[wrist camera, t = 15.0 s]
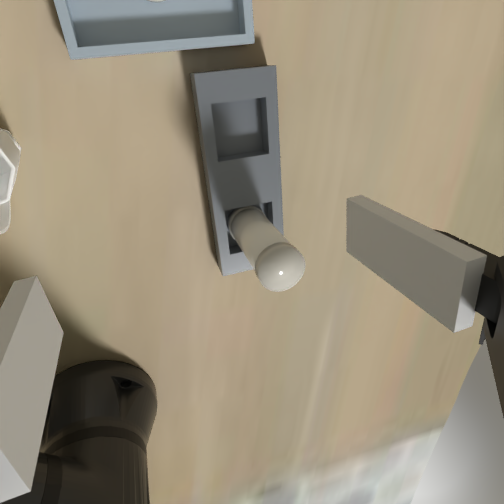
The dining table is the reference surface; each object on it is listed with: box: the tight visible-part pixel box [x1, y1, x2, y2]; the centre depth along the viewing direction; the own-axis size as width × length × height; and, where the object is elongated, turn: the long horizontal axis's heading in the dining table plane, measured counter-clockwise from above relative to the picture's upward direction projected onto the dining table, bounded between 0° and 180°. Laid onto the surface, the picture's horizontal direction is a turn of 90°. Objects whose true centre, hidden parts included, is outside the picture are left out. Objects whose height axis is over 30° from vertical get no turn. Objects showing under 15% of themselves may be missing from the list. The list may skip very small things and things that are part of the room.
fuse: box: [227, 205, 305, 292], centre depth 39 cm, size 5×5×12 cm
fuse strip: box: [190, 65, 284, 276], centre depth 40 cm, size 8×22×2 cm, turn 4°
